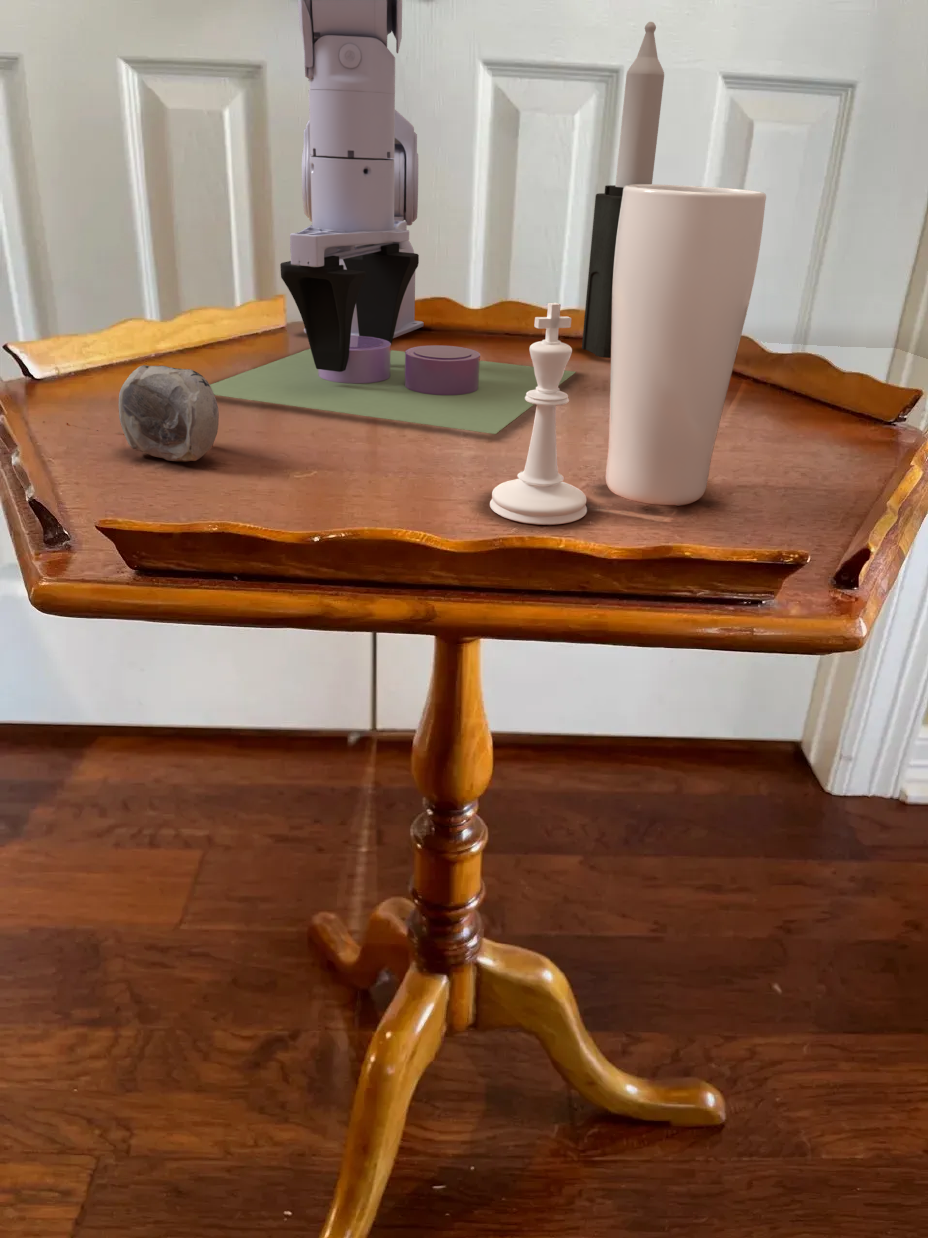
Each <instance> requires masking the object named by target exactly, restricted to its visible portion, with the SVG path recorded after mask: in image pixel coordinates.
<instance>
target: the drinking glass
mask: <svg viewBox="0 0 928 1238" xmlns="http://www.w3.org/2000/svg"><path fill="white" fill-rule="evenodd" d="M766 201H767V194H766V193H765V192H763V191H759V190H750V189H743V188H741V189H740V188H731V187H729V188H728V187H715V186H702V185H701V186H700V185H684V184H683V185H681V184H654V183H652V184H633V185H626V186H625V187H624V188H623V195H622V202H621V208H620V215H619V222H618V229H617V237H616V246H615V256H614V269H613V286H612V325H611V358H610V374H609V375H610V376H609V379H610V381H609V383H610V385H609V413H608V419H609V420H608V444H607V445H608V446H607V455H606V456H607V457H606V467H605V477H604V478H605V483H606V486H607V488H608V489H609V491H611V493H612V494H614V495H616V496H618V497H621V498H623V499H625V500H630V501H633V502H637V503H641V504H642V503H643V504H648V505H656V506H658V505H659V506H676V507H680V506H686V505H689V504H692V503H695V502H697V501H699V500H700V499H701V498H702V497H703V496H704V494H705V492H706V491H707V487H708V482H709V477H710V475H709V474H710V469H711V464H712V463H711V462H712V457H713V452H714V448H715V444H716V441H717V437H718V436H717V435H718V431H719V427H720V423H721V419H722V415H723V410H724V406H725V403H726V399H727V395H728V392H729V391H728V390H729V386H730V382H731V379H732V376H733V369H734V366H735V362H736V358H737V354H738V350H739V346H740V342H741V340H742V339H741V338H742V334H743V331H744V326H745V323H746V318H747V313H748V311H749V310H748V309H749V305H750V302H751V297H752V292H753V289H754V283H755V278H756V274H757V268H758V262H759V256H760V249H761V244H762V243H761V242H762V234H763V227H764V218H765V211H766V203H767V202H766Z"/></svg>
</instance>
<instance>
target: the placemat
mask: <svg viewBox="0 0 928 1238" xmlns="http://www.w3.org/2000/svg"><path fill="white" fill-rule="evenodd" d="M576 373H577V371H575V370H566V369H565V370H564V373H563V377H562V379H561V381H560V383H559V385H558V387H559V386H561V385H562V384H563V383H564V382H566V381H567V380H569V378H571V377H572V376H574V375H576ZM209 385H210V387H211V389H212V391H213V393H214V396H218V397H224V398H231V399H239V400H247V401H253V402H260V403H266V404H267V403H268V404H275V405H282V406H289V407H297V408H302V409H303V408H304V409H310V410H311V409H312V410H317V411H325V412H331V413H340V414H346V415H354V416H360V417H361V416H362V417H368V418H375V419H380V420H381V419H382V420H390V421H396V422H397V421H398V422H403V423H410V424H418V425H425V426H431V427H440V428H447V429H452V430H453V429H454V430H462V431H469V432H475V433H482V434H490V435H497V434H498V433H499V432H501V431H502V430H504V429H505V428H506V427H507V426H509V425H510V424H511V423H512V422H514V421H515V420H516V419H517V418H519V417H520V416H522V415H523V414H525V413H526V412H527V411H528V410H530V409H531V408H532V407H533V406H535V404H532V403H529V402H527V401H526V400H525V396H526V393H527V392H528V391H530V390H535V389H536V387H537V386H538V384H537V380H536V377H535V372H534V366H530V365H523V364H522V365H521V364H512V363H505V362H496V361H487V360H480V372H479V388H478V390H477V391H475V392H472V393H468V394H461V395H432V394H424V393H419V392H415V391H412V390H409V389H408V388H406V387H405V351H403V350H394V349H391V376H390V378H389V379H387V380H384V381H380V382H374V383H361V384H353V383H339V382H333V381H328V380H325V379H322V378H320V377H319V376H318V369H316V366H315V363H314V359H313V356H312V352H311V348H310V347H309V348H308V349H305V350H303V351H300V352H297V353H294V354H291V355H289V356H286V357H283V358H280V359H277V360H274V361H271V362H269V363H266V364H263V365H260V366H258V367H255V368H252V369H249V370H246V371H243V372H241V373H238V374H236V375H233V376H230V377H227V378H225V379H222V380H219V381H216V382H214V383H209Z"/></svg>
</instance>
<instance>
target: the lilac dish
mask: <svg viewBox="0 0 928 1238" xmlns="http://www.w3.org/2000/svg"><path fill="white" fill-rule="evenodd" d="M391 350H392V344H391V343H390V342H389V341H387V340H384V339H380V338H375V337H367V336H351V338H350V349H349V358H348V363H347V366H346V370H345V371H342V372H337V371H329V370H321V369H318V376H319V377H320V378H322V379H325V380H328V381H333V382H339V383H353V384H361V383H374V382H380V381H384V380H387V379H389V378H390V376H391Z"/></svg>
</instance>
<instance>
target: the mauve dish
mask: <svg viewBox="0 0 928 1238" xmlns="http://www.w3.org/2000/svg"><path fill="white" fill-rule="evenodd" d="M404 352H405V387H406V388H408V389H409V390H412V391H415V392H419V393H424V394H432V395H461V394H468V393H472V392H475V391H477V390H478V388H479V372H480V361H481V353H480V352H479V351H477V350H475V349H471V348H469V347H461V346H455V345H454V346H453V345H441V344H440V345H437V344H436V345H434V344H433V345H420V346H414V347H410V348H407V349H406V350H405V351H404Z"/></svg>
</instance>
